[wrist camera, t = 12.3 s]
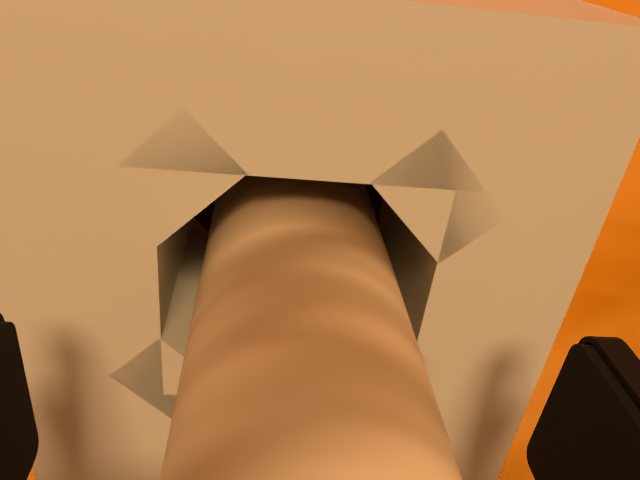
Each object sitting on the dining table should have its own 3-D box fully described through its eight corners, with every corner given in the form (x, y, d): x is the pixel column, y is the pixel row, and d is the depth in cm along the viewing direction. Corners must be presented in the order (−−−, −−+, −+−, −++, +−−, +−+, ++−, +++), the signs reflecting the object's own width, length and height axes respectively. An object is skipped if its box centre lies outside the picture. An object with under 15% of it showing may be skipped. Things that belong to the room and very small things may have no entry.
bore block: (546, -11, 14) (684, 31, 9) (442, 350, 20) (493, 486, 15) (48, -69, 13) (-87, -55, 8) (96, 337, 19) (36, 482, 14)
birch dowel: (372, 127, 16) (562, 550, 5) (351, 253, 18) (458, 731, 7) (220, 114, 15) (108, 554, 5) (218, 246, 17) (135, 747, 7)
